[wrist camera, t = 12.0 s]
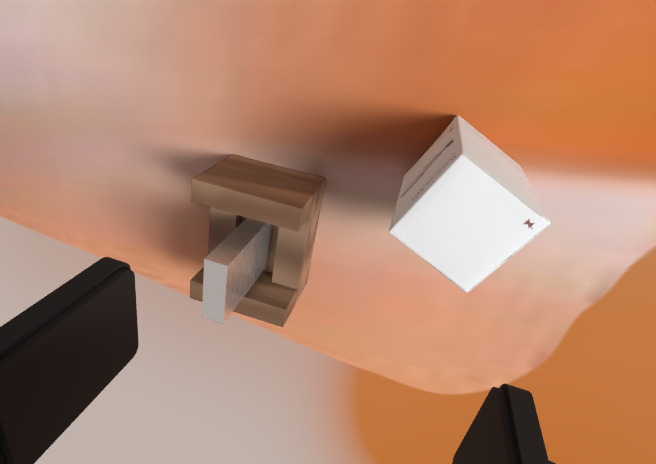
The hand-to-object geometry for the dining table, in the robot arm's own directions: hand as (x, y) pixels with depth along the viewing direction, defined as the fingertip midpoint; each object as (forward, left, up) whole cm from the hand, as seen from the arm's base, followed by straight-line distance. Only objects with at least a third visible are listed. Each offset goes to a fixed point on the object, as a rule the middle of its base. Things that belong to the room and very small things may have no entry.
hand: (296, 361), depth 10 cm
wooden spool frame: (+13, -11, -30) cm, 35 cm away
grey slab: (+14, -11, -27) cm, 32 cm away
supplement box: (+3, +6, -31) cm, 31 cm away
